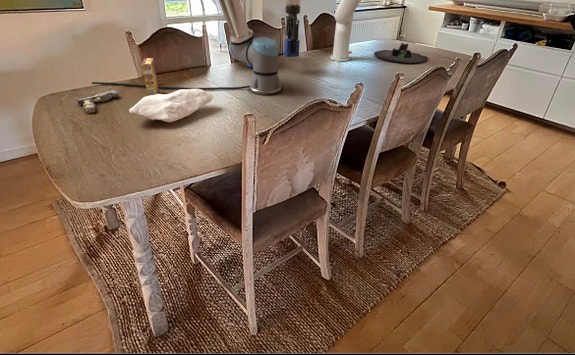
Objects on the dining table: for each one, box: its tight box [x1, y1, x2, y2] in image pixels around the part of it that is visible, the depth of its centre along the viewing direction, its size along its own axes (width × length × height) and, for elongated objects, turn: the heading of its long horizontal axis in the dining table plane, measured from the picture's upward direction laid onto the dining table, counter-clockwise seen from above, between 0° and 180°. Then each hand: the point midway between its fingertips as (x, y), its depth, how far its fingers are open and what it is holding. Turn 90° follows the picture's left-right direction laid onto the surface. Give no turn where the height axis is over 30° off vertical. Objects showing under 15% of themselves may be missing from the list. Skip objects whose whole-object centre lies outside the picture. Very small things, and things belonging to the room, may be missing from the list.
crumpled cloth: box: [129, 89, 214, 123], centre depth 147 cm, size 24×35×9 cm
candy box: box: [141, 57, 160, 96], centre depth 163 cm, size 9×4×15 cm, turn 13°
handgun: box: [76, 89, 120, 114], centre depth 155 cm, size 3×18×15 cm
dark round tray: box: [373, 42, 428, 64], centre depth 240 cm, size 35×35×9 cm
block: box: [283, 38, 300, 58], centre depth 198 cm, size 5×7×8 cm
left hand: (291, 51), depth 199 cm, fingers closed on block, 5 cm apart
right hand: (288, 0), depth 223 cm, fingers open, 9 cm apart
